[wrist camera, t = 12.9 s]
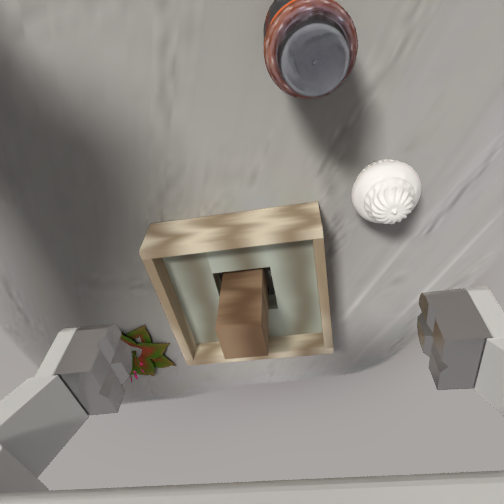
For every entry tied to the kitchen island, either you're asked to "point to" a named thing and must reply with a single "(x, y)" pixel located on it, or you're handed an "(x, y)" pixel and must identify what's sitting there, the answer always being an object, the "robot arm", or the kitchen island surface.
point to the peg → (243, 314)
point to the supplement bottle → (309, 46)
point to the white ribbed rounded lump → (386, 191)
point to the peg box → (242, 258)
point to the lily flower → (146, 353)
